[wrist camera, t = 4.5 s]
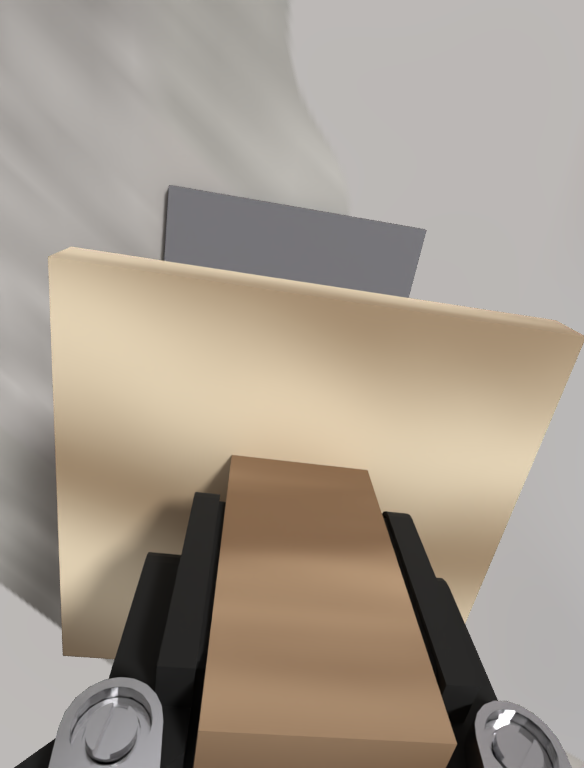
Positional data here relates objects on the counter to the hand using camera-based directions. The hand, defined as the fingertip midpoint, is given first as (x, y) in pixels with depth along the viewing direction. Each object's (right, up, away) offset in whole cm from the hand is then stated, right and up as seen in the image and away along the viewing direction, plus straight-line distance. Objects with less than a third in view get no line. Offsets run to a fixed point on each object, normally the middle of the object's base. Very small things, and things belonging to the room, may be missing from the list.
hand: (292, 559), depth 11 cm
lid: (0, +1, +2) cm, 3 cm away
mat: (-1, +7, +15) cm, 16 cm away
